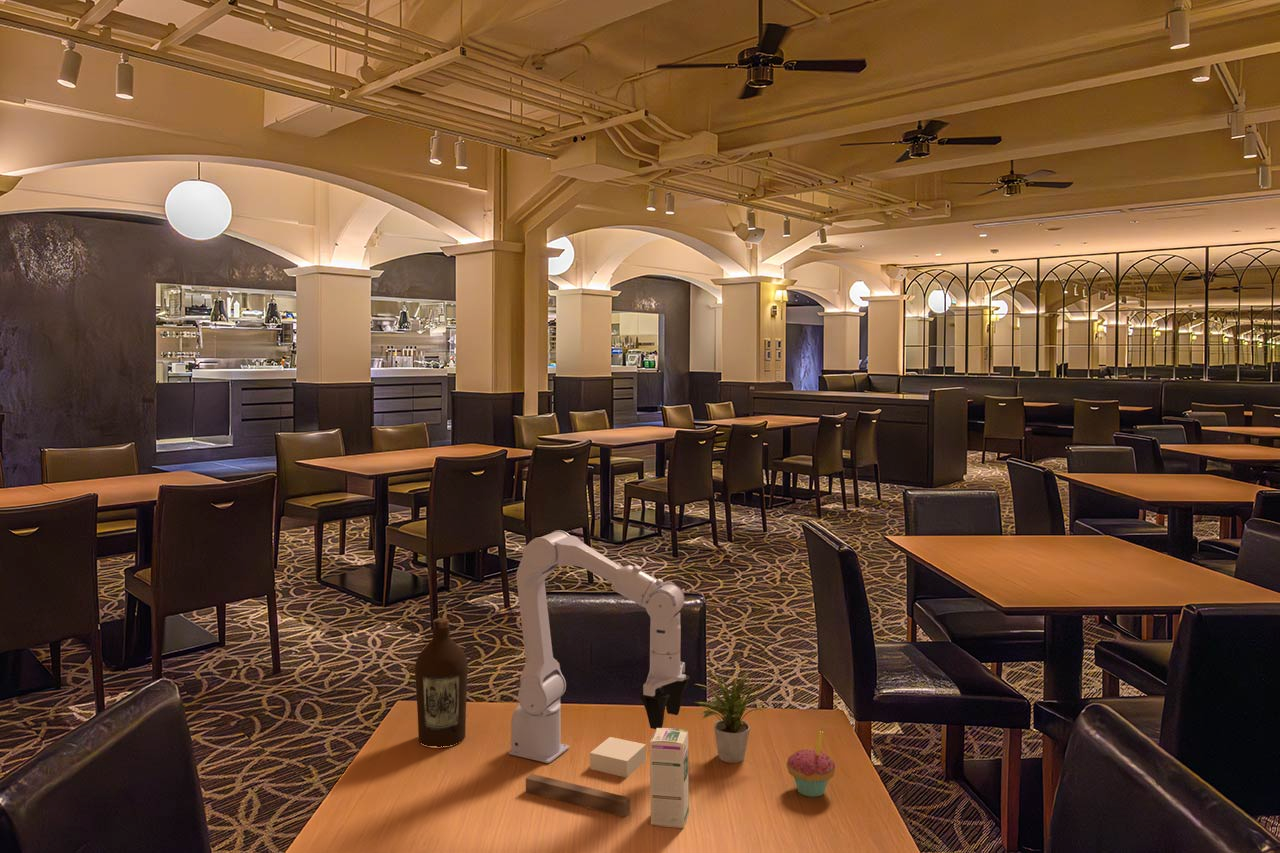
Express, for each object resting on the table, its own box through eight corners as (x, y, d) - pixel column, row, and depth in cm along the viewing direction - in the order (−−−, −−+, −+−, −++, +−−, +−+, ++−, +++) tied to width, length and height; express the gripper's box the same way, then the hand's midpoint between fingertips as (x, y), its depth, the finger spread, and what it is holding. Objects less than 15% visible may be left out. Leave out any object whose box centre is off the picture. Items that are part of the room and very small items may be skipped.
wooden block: (590, 770, 158) (590, 752, 158) (609, 753, 165) (609, 736, 165) (627, 779, 155) (627, 761, 154) (645, 761, 162) (645, 744, 162)
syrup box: (684, 829, 137) (684, 743, 136) (649, 825, 138) (649, 740, 137) (689, 811, 142) (689, 729, 142) (655, 808, 143) (655, 726, 143)
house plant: (711, 733, 174) (711, 657, 173) (775, 746, 168) (775, 667, 167) (685, 761, 161) (685, 679, 161) (753, 776, 155) (753, 690, 155)
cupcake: (836, 784, 152) (837, 720, 152) (831, 806, 144) (832, 738, 144) (790, 776, 155) (790, 713, 155) (782, 798, 147) (783, 731, 147)
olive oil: (416, 731, 175) (415, 614, 174) (467, 726, 178) (466, 611, 176) (414, 752, 165) (413, 629, 164) (468, 747, 167) (467, 625, 166)
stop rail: (525, 791, 149) (525, 778, 149) (531, 787, 151) (531, 773, 151) (624, 817, 140) (624, 802, 140) (629, 811, 142) (630, 797, 142)
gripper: (668, 664, 147) (668, 739, 148) (699, 642, 160) (698, 711, 161) (633, 658, 150) (632, 732, 151) (666, 637, 163) (665, 704, 164)
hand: (664, 721), depth 156 cm, fingers open, 7 cm apart
